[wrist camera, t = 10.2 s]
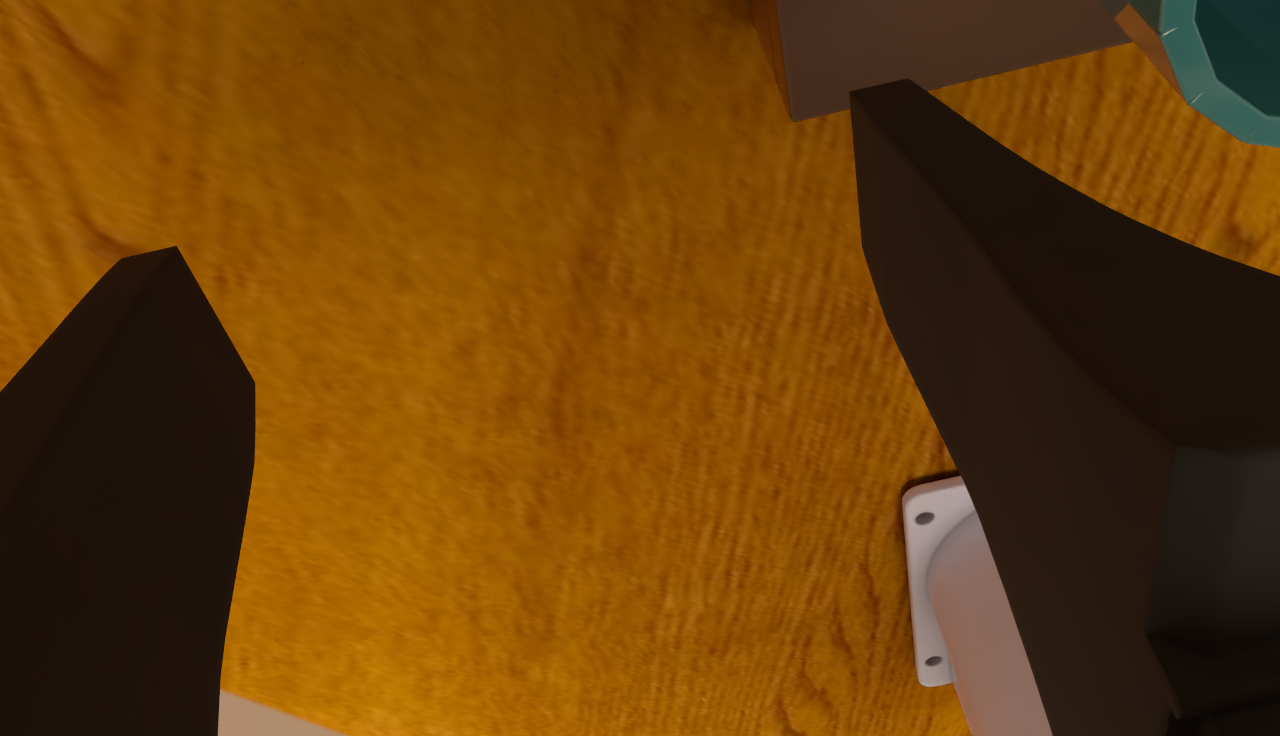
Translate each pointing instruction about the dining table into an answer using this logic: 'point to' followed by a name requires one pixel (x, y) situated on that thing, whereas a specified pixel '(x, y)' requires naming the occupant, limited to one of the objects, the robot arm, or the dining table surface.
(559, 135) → the dining table surface
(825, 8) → the shelf
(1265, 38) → the cup
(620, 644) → the dining table surface
